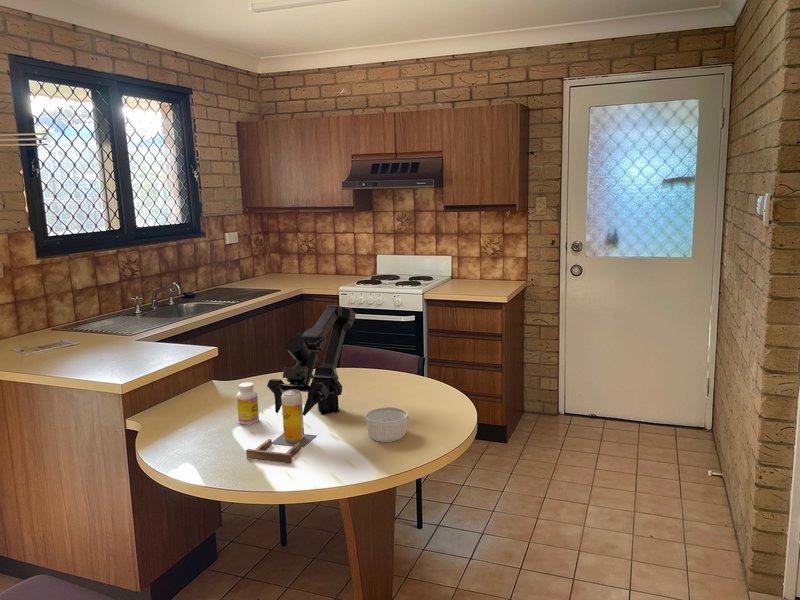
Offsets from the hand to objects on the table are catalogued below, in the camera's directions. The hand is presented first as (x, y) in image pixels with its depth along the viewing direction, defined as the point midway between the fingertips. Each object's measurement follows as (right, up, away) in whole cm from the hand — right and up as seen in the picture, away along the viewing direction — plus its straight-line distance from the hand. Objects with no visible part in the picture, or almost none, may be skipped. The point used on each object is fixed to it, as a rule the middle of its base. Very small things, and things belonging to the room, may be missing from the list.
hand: (289, 413), depth 192 cm
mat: (+1, -9, +3) cm, 9 cm away
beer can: (+1, -8, +3) cm, 9 cm away
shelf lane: (-2, -10, -6) cm, 12 cm away
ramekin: (+29, -8, +4) cm, 31 cm away
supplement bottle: (-17, -6, +20) cm, 27 cm away
